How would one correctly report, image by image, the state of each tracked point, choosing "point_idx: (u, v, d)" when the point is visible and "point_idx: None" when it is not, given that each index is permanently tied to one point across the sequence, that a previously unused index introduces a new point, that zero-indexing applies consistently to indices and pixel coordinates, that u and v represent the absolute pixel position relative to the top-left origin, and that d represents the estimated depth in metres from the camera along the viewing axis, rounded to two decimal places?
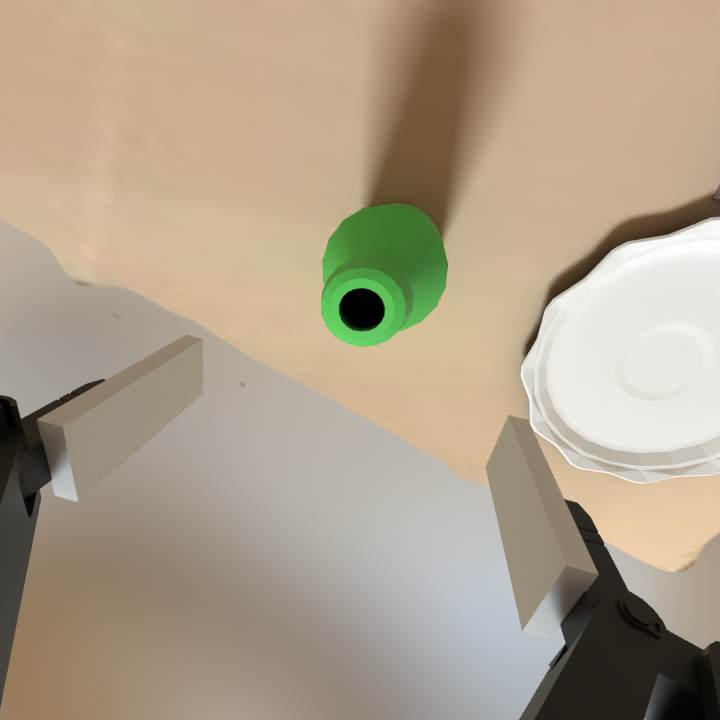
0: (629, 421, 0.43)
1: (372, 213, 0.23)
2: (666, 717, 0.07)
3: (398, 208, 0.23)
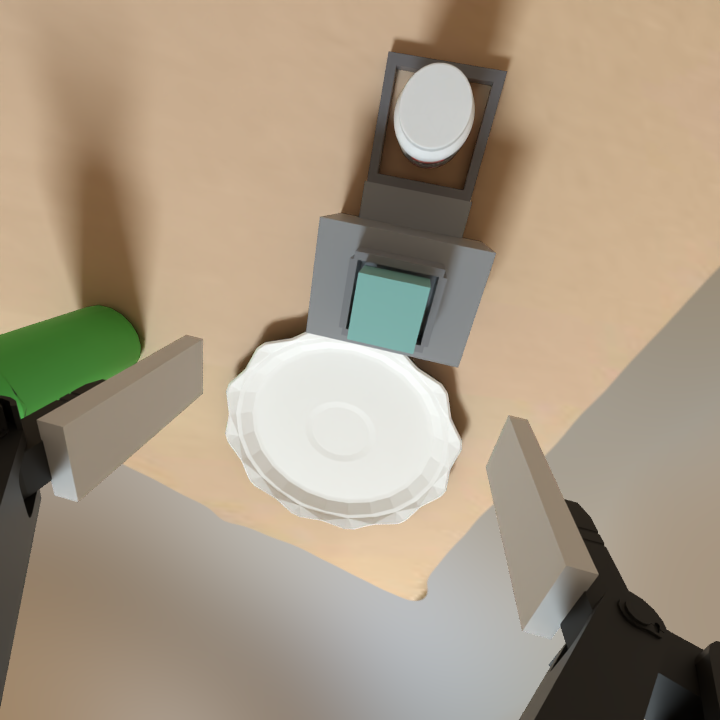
0: (332, 477, 0.50)
1: None
2: (666, 717, 0.07)
3: None
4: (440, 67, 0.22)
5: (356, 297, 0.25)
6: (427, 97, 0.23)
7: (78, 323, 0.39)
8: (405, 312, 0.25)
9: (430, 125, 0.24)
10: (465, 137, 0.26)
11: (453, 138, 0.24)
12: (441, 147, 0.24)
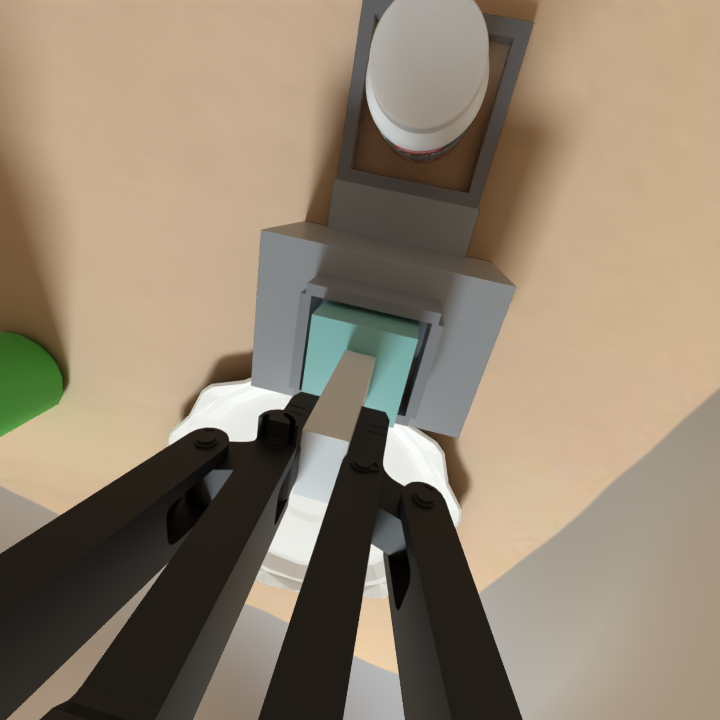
0: (304, 540, 0.41)
1: None
2: (377, 536, 0.10)
3: None
4: None
5: (311, 348, 0.17)
6: (414, 42, 0.14)
7: None
8: (381, 372, 0.17)
9: (419, 89, 0.15)
10: (474, 113, 0.17)
11: (456, 111, 0.15)
12: (436, 126, 0.15)
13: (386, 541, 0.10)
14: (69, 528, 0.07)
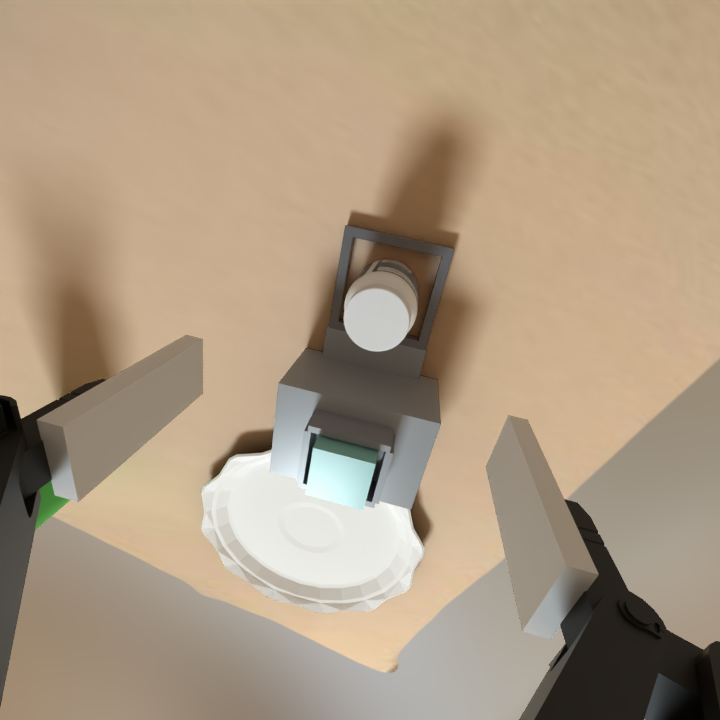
0: (305, 565, 0.52)
1: None
2: (665, 717, 0.07)
3: None
4: (379, 292, 0.24)
5: (312, 465, 0.29)
6: (368, 313, 0.25)
7: None
8: (354, 480, 0.29)
9: (372, 334, 0.26)
10: (409, 329, 0.28)
11: (393, 345, 0.26)
12: None
13: None
14: None
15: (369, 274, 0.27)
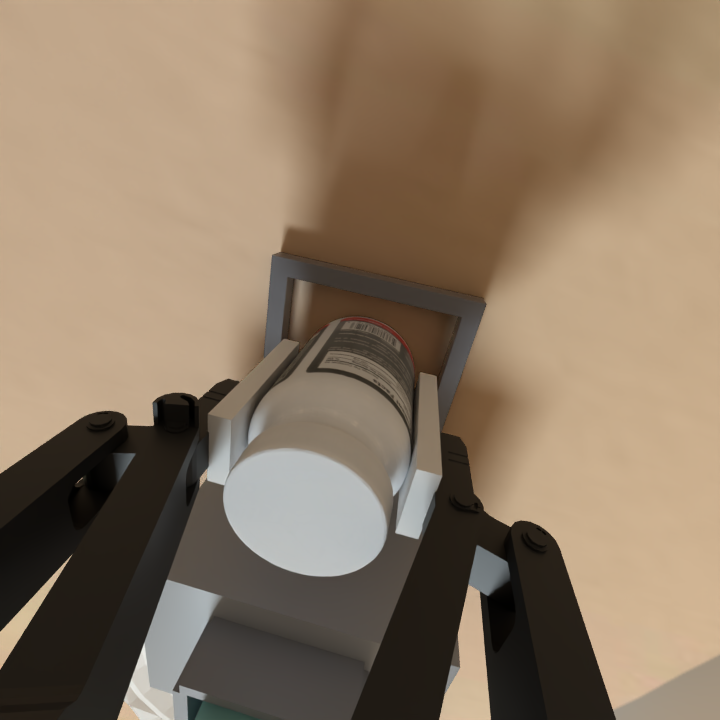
0: None
1: None
2: (481, 579, 0.10)
3: None
4: (304, 458, 0.09)
5: None
6: (283, 500, 0.10)
7: None
8: None
9: (296, 542, 0.10)
10: (392, 496, 0.12)
11: (350, 570, 0.10)
12: None
13: (492, 585, 0.09)
14: None
15: (297, 381, 0.11)
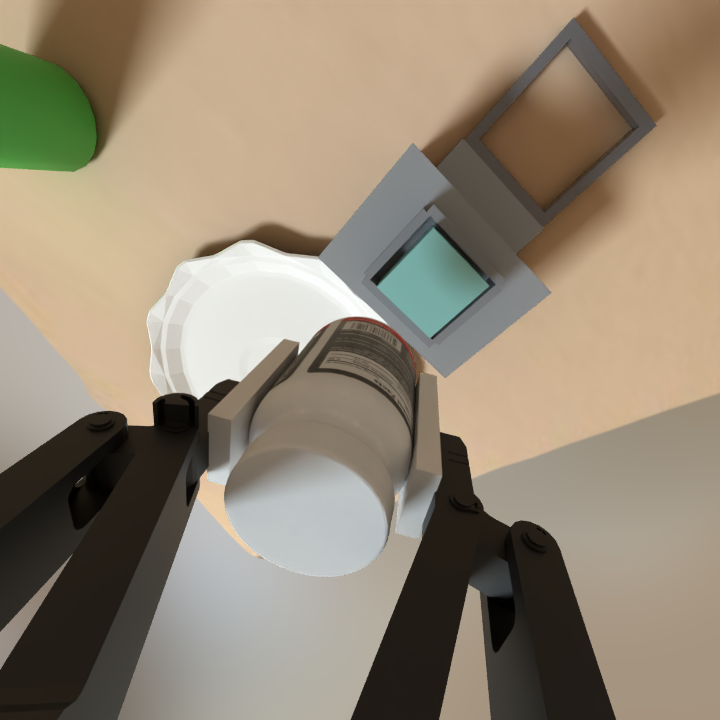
0: None
1: None
2: (480, 579, 0.10)
3: None
4: (306, 459, 0.09)
5: (414, 251, 0.22)
6: (284, 500, 0.10)
7: (23, 70, 0.27)
8: (449, 295, 0.23)
9: (298, 543, 0.10)
10: None
11: (351, 570, 0.10)
12: None
13: (492, 585, 0.09)
14: None
15: (298, 381, 0.11)
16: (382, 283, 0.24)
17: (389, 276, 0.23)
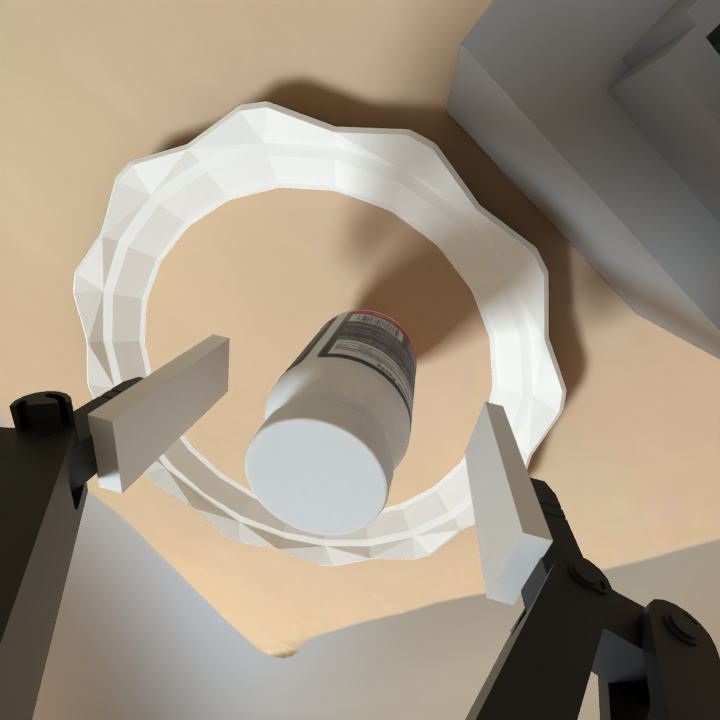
0: None
1: None
2: (610, 669, 0.08)
3: None
4: (316, 428, 0.10)
5: None
6: (297, 465, 0.11)
7: None
8: None
9: (308, 504, 0.12)
10: (393, 469, 0.14)
11: (355, 529, 0.12)
12: None
13: (625, 677, 0.08)
14: None
15: (310, 364, 0.13)
16: None
17: None
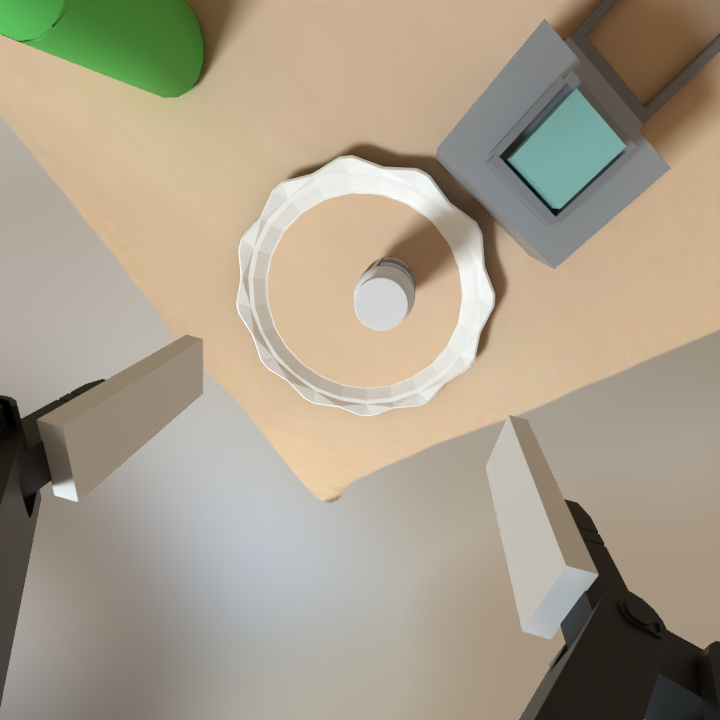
0: None
1: None
2: (666, 717, 0.07)
3: None
4: (382, 281, 0.30)
5: (554, 115, 0.24)
6: (374, 298, 0.31)
7: None
8: (585, 160, 0.24)
9: (378, 316, 0.31)
10: (408, 313, 0.33)
11: (395, 325, 0.31)
12: (387, 329, 0.32)
13: None
14: None
15: (374, 268, 0.33)
16: (518, 152, 0.25)
17: (526, 144, 0.25)
